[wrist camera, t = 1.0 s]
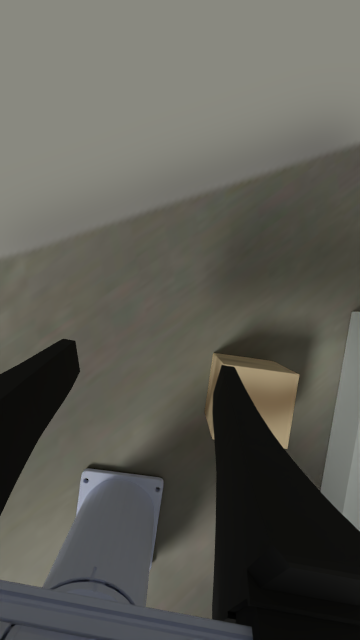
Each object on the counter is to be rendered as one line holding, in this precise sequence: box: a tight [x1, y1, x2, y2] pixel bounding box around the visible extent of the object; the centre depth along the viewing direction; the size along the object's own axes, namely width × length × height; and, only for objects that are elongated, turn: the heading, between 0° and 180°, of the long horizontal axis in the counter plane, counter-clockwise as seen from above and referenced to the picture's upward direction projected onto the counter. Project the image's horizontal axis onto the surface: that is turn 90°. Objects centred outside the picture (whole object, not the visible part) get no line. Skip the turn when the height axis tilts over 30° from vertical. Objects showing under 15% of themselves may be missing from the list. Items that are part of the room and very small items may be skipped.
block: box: [205, 353, 299, 449], centre depth 20 cm, size 6×6×5 cm
